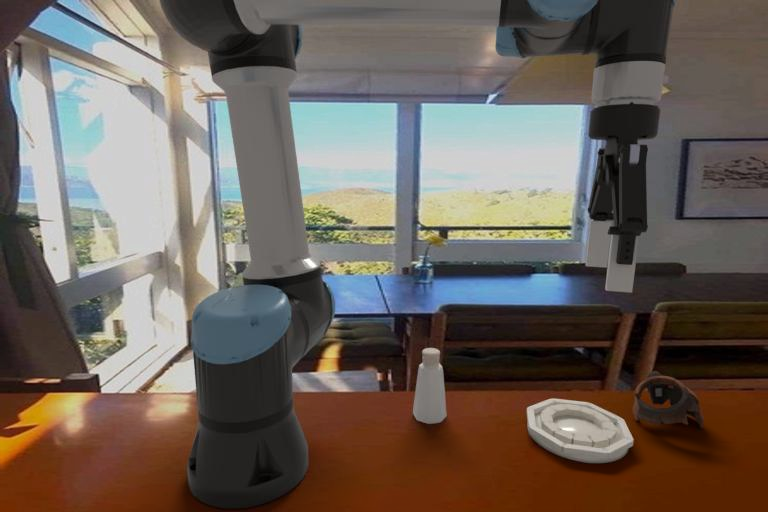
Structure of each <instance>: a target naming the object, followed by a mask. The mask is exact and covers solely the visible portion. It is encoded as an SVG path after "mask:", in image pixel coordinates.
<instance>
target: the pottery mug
mask: <svg viewBox="0 0 768 512" xmlns="http://www.w3.org/2000/svg"><path fill="white" fill-rule="evenodd" d="M646 377H647V378H645V379H643V380H642V381H641V382H640V383H638V384H637V386H636V387H635V390H634V402H633V403H634V404H633V406H632V413H633V417H634V419H635V421H636V422H639V421H640V420H641V421H643V422H648V423H650V424H654V425H657V426H662V425H663V424H665V425H673V424H676V423H682V424H683V425H689V422H688V416H691V417H692V418H694V419H695V421H696V422H697V424H698V426H699V428H700V429H704V423H705V419H704V416H703V414H702V412H701V408H700V406H699V405H700V404H699V403H700V402H699V401H700V398H699V397H698V396H697V395H696V393H695V392H694V391H693V390H691V388H688V387H687V386H686V385H685V384H684V383H683V382H681V381H680V380H679V379H676V378H675V377H672V376H667V375H663V374H661V373H660V372H659V371H656V370H653V371H650V372H649V373H648V374H646ZM669 386H671V387H669ZM644 390H647V392H648V394H649V398H650V401H651V403H652V404H653V405H661V406H663V405H664V404H665V403H666V402H667V401H669V405H670V406H667V407H656V406H652V405H649V404H648V403H646V402H644V401H643V400H642V398H641V397H642V393H643V391H644ZM687 415H688V416H687Z"/></svg>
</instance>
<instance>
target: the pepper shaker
mask: <svg viewBox="0 0 768 512" xmlns="http://www.w3.org/2000/svg"><path fill="white" fill-rule="evenodd" d="M421 354H422V362H421V363H420V364H419V365H418V369H417V377H416V382H415V383H416V385H415V392H414V399H413V400H414V401H413V408H412V414H413V416H414V419H416V421H417V422H422V423H423V424H424V423H425V424H426V425H430V424H431V425H432V424H439V423H442V422H443V421H444V420H445V419H446V418H447V417H448V416H447V415H448V414H447V405H446V404H447V403H446V389H445V378H444V377H445V376H444V369H443V366H442V365H441V363H440V355H441V351H440V350H439V349H438V348H434V347H426V348H424V349H423V350H422V351H421Z"/></svg>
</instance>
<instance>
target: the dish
mask: <svg viewBox="0 0 768 512" xmlns="http://www.w3.org/2000/svg"><path fill="white" fill-rule="evenodd" d="M526 420H527V423H526V424H527V426H526V427H527V432H528V435H529V436H530V438H532V439H533V440H534V442H535V443H537V444H538V445H539V446H541V448H543V449H545V450H547V451H548V452H550V453H552V454H554V455H557V456H559V457H561V458H565V459H568V460H571V461H574V462H575V461H576V462H579V463H580V462H581V463H587V464H605V463H612V462H615V461H618V460H620V459H621V460H622V458H623V457H624V458H625V456H626V455H627V453H628V452H629V448H632V447H633V446H634V442H635V441H634V440H635V439H634V437H633V436H632V433H631V432H630V429H629V427H628V425H627V423H626V421H625V419H623V417H620V416H618V415H617V414H615V413H613V412H610V411H609V410H606V409H603V408H602V407H600V406H598V405H596V404H593V403H591V402H588V401H578V400H570V399H561V398H549V399H546V400H543V401H540V402H537V403H535V404H533V405H530V406H527V408H526Z"/></svg>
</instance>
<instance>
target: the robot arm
mask: <svg viewBox="0 0 768 512" xmlns="http://www.w3.org/2000/svg"><path fill="white" fill-rule="evenodd" d="M159 4H160V8H161V9H162V12H163V14H164V16H165V19H166V20H167V22H168V23H169V24H170V25H171V27H172V28H173V30H174V31H175V32H176V33H177V34H178V35H179V37H181V38H182V39H184V40H185V42H188V43H189V44H191V45H192V46H195V47H197V48H199V49H200V50H203V51H206V52H207V54H208V55H207V57H208V61H209V62H208V63H209V67H210V73H211V75H210V76H211V80H212V82H213V83H214V84H215V85H216V86H217V87H219V88H220V89H221V91H223V92H224V93H225V96H226V97H225V98H226V104H227V109H228V117H229V124H230V131H231V137H232V143H233V150H234V156H235V157H234V158H235V162H236V169H237V176H238V182H239V190H240V196H241V204H242V209H243V210H242V211H243V216H244V223H245V230H246V231H245V232H246V237H247V243H248V250H249V256H250V262H249V264H248V265H247V266H246V268H245V269H244V270H243V271H242V274H241V275H242V282H243V285H237V286H234V287H232V288H231V289H226V288H225V289H222V290H218V291H217V292H214V293H212V294H210V295H208V296H206V297H205V298H204V299H202V300H201V301H200V302H199V303H198V304H197V306H196V307H195V309H194V311H192V316H191V334H190V347H191V349H192V353H193V354H192V358H193V365H194V368H193V369H194V377H195V378H194V379H195V393H196V403H197V417H198V423H197V428H196V431H195V435H194V439H193V443H192V445H191V446H192V447H191V449H190V452H189V453H190V454H189V457H188V461H187V465H186V466H187V471H186V472H187V482H188V483H187V484H188V489H189V490H190V493H191V494H192V495H193V497H194V498H195V499H197V500H198V501H200V502H201V503H204V504H206V505H208V506H211V507H215V508H217V509H218V508H220V509H229V510H230V509H232V510H233V509H236V510H237V509H247V508H253V507H257V506H260V505H264V504H267V503H269V502H272V501H275V500H276V499H279V498H281V497H283V496H284V495H286V494H288V493H289V492H291V490H293V489H294V488H295V487H296V486H297V485H299V483H300V482H301V481H302V480H303V479H304V477H305V475H306V473H307V471H308V468H309V445H308V441H307V439H306V437H305V435H304V431H303V429H302V427H301V425H300V421H299V420H298V416H297V414H296V411H295V409H294V396H293V395H294V394H293V393H294V392H293V391H294V390H293V368H294V367H295V366H296V365H297V364H298V362H299V361H300V360H302V359H303V358H304V357H305V356H306V355H307V353H308V352H309V351H311V349H312V348H314V347H315V346H316V345H317V344H318V343H320V341H322V340H323V338H325V336H326V334H327V333H328V331H329V329H330V327H331V326H332V323H333V321H334V318H335V313H336V300H335V295H334V292H333V289H332V287H331V286H330V285H329V283H328V282H327V281H325V280H324V279H323V273H322V272H323V271H322V266H321V261H319V260H318V259H317V258H315V257H314V256H312V254H311V253H310V249H309V242H308V235H307V229H306V228H307V227H306V218H305V212H304V204H303V195H302V189H301V187H302V186H301V181H300V174H299V173H300V172H299V167H298V166H299V165H298V156H297V150H296V142H295V135H294V127H293V126H294V125H293V119H292V110H291V104H290V94H289V89H290V87H291V85H293V83H294V81H295V80H296V79H297V78H298V71H297V65H296V59H297V56H298V55H299V54H300V53H301V49H302V46H303V45H302V44H303V27H302V26H305V25H306V26H383V27H385V26H387V27H391V26H393V27H394V26H395V27H396V26H397V27H398V26H399V27H400V26H401V27H402V26H403V27H405V26H406V27H407V26H408V27H409V26H410V27H493V28H494V27H496V32H495V52H496V53H497V54H498V56H500V57H513V58H520V59H526V58H527V57H528V58H530V57H531V58H533V57H551V56H553V57H554V56H573V55H574V56H575V55H579V56H580V55H582V56H584V55H585V56H586V55H595V63H594V64H595V65H594V69H593V79H592V88H591V89H592V90H591V100H590V102H591V103H592V104H593V105H595V107H594V108H592V110H591V111H590V115H589V125H588V137H589V139H591V140H595V141H605V146H604V148H603V147H599V149H598V150H597V161H596V167H595V172H594V176H593V177H594V179H593V183H592V188H591V193H590V199H589V204H588V207H587V214H589V219H590V220H589V229H588V238H587V248H586V256H585V267H591V268H594V267H595V268H607V269H606V279H605V285H604V286H605V287H604V290H605V291H607V292H617V293H618V292H619V293H620V292H621V293H631V294H632V293H633V289H634V281H635V273H636V264H637V256H638V248H639V242H640V241H639V239H640V236H641V234H642V233H646V232H647V231H648V228H649V226H648V201H647V196H648V195H647V194H648V193H647V190H648V189H647V158H648V151H649V147H648V145H647V144H639V141H642V140H643V141H646V140H652V139H654V138H656V137H657V135H658V131H659V125H660V124H659V122H660V118H661V117H660V115H661V108H659V105H656V104H655V103H658V102H659V101H661V100H662V97H663V86H664V85H666V84H667V83H668V82H669V79H670V77H669V75H665V70H666V62H667V53H668V47H669V39H670V33H671V27H672V19H673V13H674V7H675V5H676V0H159ZM612 221H613V222H612ZM612 223H613V225H614V226H613V225H612Z"/></svg>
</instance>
